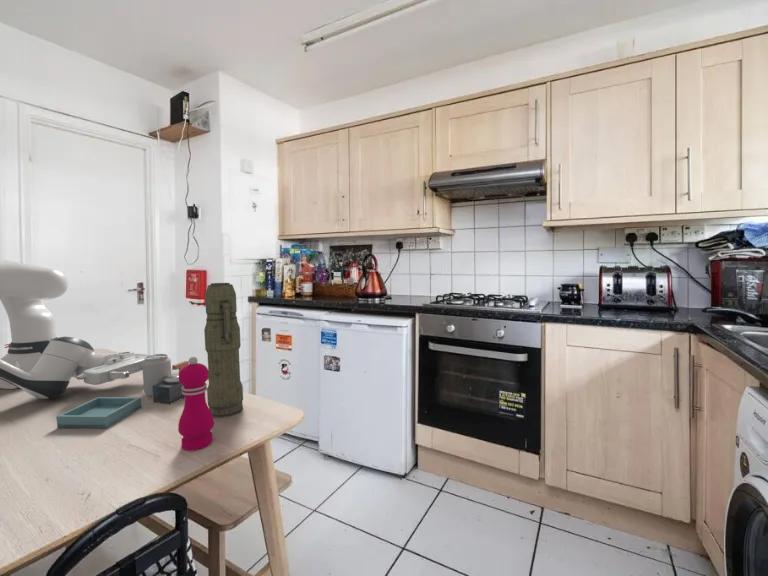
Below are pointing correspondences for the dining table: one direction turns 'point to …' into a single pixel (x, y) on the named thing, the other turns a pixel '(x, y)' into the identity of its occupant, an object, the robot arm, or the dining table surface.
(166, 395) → the crank housing
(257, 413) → the dining table surface
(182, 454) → the dining table surface
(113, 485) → the dining table surface
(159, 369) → the can
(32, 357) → the robot arm
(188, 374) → the pepper mill
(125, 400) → the tray
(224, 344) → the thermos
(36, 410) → the dining table surface
